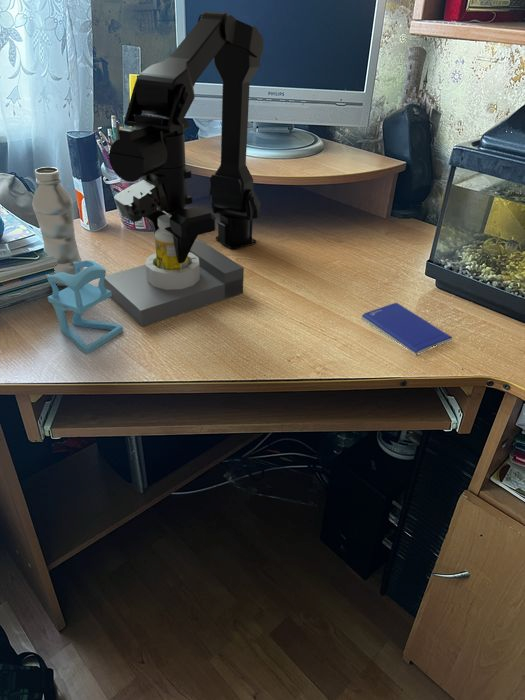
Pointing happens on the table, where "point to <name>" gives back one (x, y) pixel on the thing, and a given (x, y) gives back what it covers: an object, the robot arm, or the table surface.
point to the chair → (81, 301)
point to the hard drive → (406, 328)
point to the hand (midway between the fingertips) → (172, 256)
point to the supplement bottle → (166, 247)
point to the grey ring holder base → (175, 285)
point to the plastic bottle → (56, 220)
